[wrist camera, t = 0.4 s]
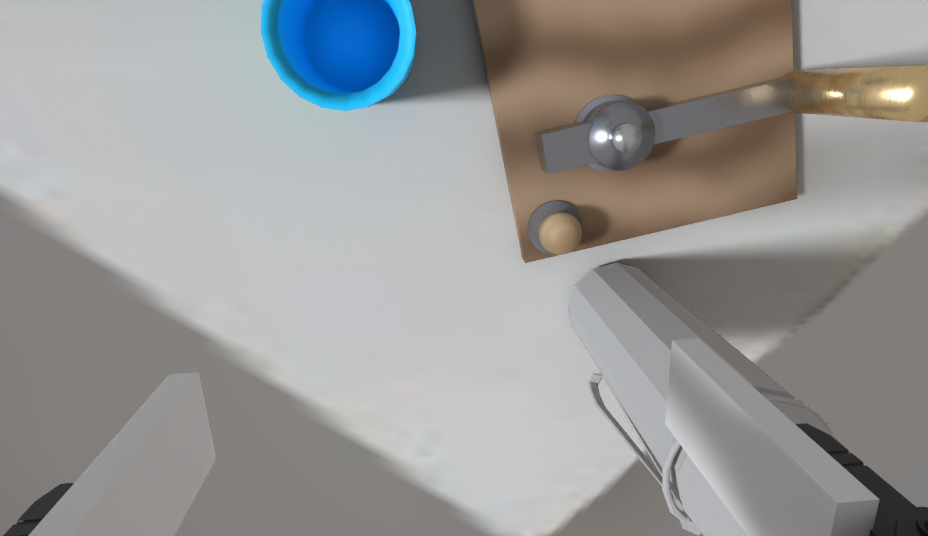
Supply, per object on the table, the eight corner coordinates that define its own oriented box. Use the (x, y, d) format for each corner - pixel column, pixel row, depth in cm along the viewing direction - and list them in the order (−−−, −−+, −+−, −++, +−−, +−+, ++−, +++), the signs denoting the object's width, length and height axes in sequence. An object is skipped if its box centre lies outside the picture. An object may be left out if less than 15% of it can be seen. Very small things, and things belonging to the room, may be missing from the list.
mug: (440, 27, 38) (445, 12, 30) (374, 129, 40) (363, 140, 32) (281, -95, 35) (241, -146, 27) (217, 21, 37) (163, 4, 29)
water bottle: (594, 240, 43) (808, 429, 20) (674, 286, 45) (959, 509, 21) (531, 337, 45) (656, 612, 22) (610, 377, 47) (806, 672, 23)
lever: (543, 181, 40) (589, 216, 29) (532, 119, 38) (576, 132, 28) (811, 118, 40) (954, 130, 29) (810, 54, 39) (960, 42, 28)
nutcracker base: (442, -149, 35) (446, -182, 30) (772, -225, 35) (822, -269, 31) (522, 258, 43) (534, 277, 39) (787, 195, 43) (827, 207, 39)
